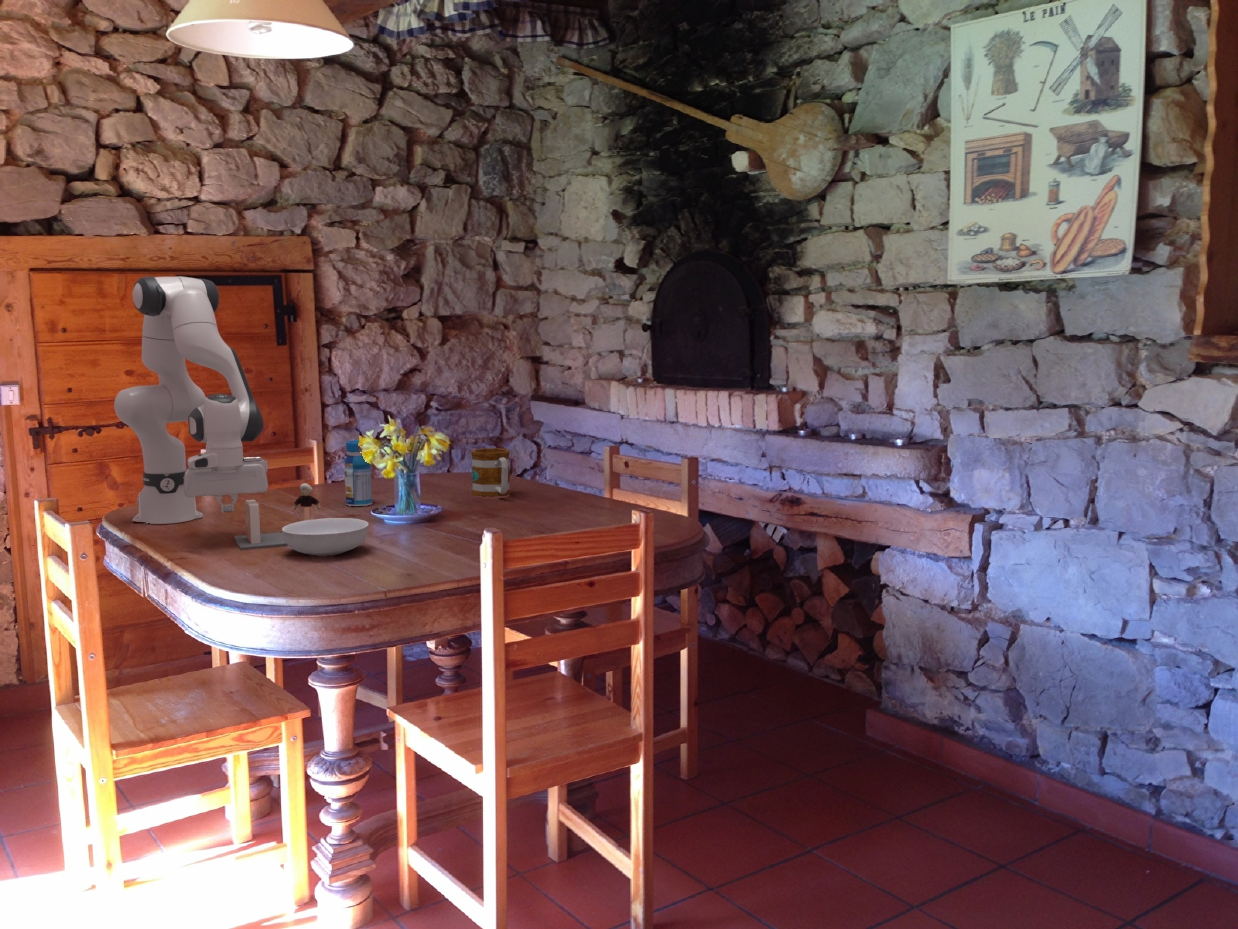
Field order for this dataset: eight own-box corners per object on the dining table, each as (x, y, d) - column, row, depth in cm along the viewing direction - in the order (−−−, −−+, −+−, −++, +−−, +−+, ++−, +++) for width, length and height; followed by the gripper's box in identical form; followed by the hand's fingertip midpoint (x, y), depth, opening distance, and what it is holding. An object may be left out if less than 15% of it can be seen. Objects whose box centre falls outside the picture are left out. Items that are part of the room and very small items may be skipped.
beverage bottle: (366, 507, 320) (364, 443, 317) (340, 506, 321) (338, 442, 318) (377, 502, 328) (375, 440, 325) (351, 502, 330) (349, 439, 327)
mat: (233, 538, 275) (233, 536, 275) (296, 533, 282) (296, 531, 282) (240, 549, 262) (240, 547, 262) (306, 543, 269) (306, 541, 269)
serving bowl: (336, 539, 275) (335, 514, 274) (386, 551, 262) (385, 524, 261) (266, 553, 259) (264, 526, 258) (315, 566, 246) (314, 537, 245)
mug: (464, 494, 345) (464, 449, 343) (502, 491, 351) (502, 447, 349) (486, 503, 328) (485, 456, 326) (525, 500, 334) (525, 454, 332)
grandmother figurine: (292, 530, 286) (291, 484, 284) (293, 527, 290) (291, 482, 288) (321, 528, 288) (320, 483, 286) (321, 526, 292) (320, 481, 290)
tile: (246, 537, 273) (244, 500, 272) (256, 537, 274) (254, 499, 273) (250, 543, 266) (248, 505, 265) (260, 542, 267) (258, 504, 266)
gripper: (265, 454, 272) (268, 506, 274) (181, 459, 263) (184, 512, 265) (269, 457, 266) (271, 510, 268) (183, 462, 257) (186, 517, 259)
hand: (227, 511), depth 266 cm, fingers closed
